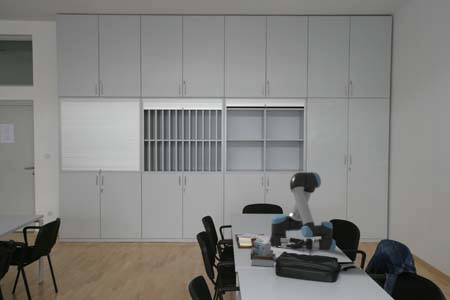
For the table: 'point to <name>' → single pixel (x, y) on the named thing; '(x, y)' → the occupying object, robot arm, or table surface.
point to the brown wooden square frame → (261, 256)
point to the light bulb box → (262, 248)
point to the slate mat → (262, 263)
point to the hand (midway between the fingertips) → (280, 242)
